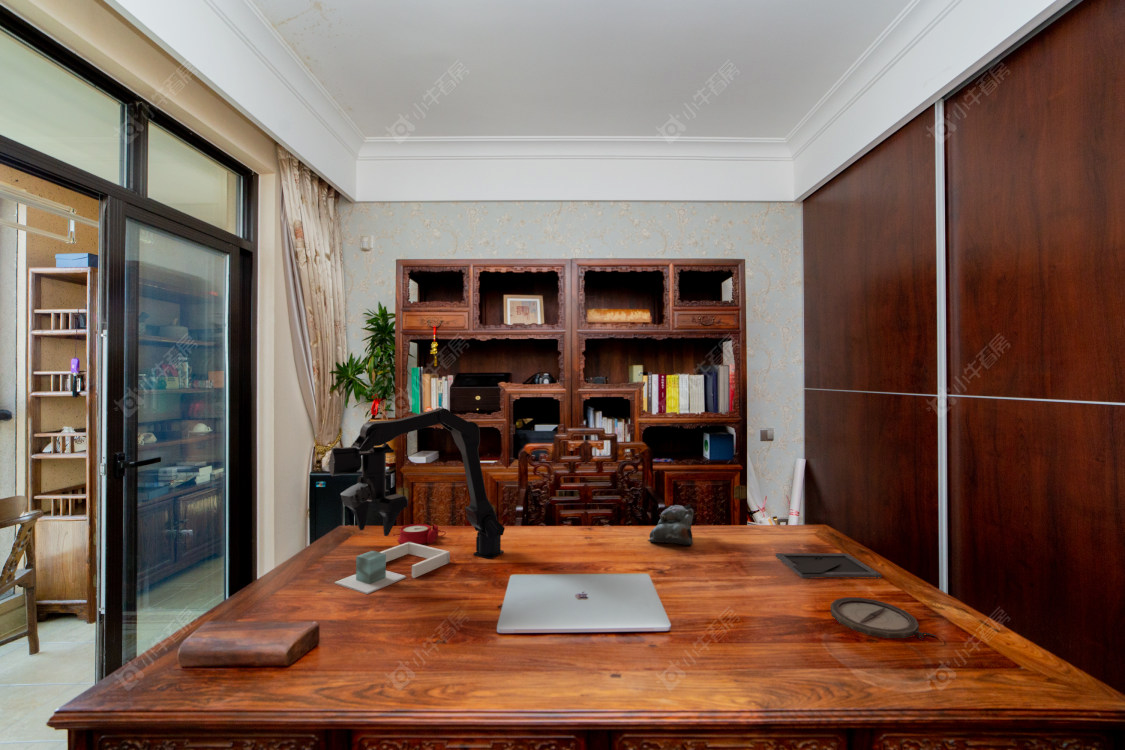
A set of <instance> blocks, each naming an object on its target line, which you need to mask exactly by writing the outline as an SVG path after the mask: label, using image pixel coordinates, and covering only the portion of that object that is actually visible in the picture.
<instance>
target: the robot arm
mask: <svg viewBox="0 0 1125 750" xmlns="http://www.w3.org/2000/svg"><path fill="white" fill-rule="evenodd" d="M439 424H440V425H441V426H442V427H444V428H445V430H446V429H447V430H448V431H450V433H451V436H452V437H453V441H454V443H455V445H456V447H457V448H458V449H459V452H460V454H461V458H462V463H463V468H464V472H465V479H466V481H467V483H466V484H467V488H468V492H469V498H470V502H469V505H468V506H465V507H464V509H465V512H466V521H467V522H468V521H469V524H471V526H473V527H474V530H475V531H476V539H475V540H476V541H475V542H476V543H475V544H476V545H475V550H476V551H475V552H473V556H477V557H481V558H485V559H493V558H495V557H498V556H499V555H502V554H504V553H505V551H504V550H502V549H501V547H502V546H501V545H502V544H501V543H502V541H501V538H502V537H501V536H503V535H504V532H505V530H506V529H505V526H504V525H503V524H502V523H500V522H499V521H498V517H497V514H496V512H495V508H494V507H493V506H492V504H491V502H490V500H489V499H488V496H487V492H486V486H485V480H484V476H483V471H482V465H481V462H480V456H479V446H480V444H481V443H480V442H481V435H480V434H481V431H480V427H479V425H478V424H477V423H476V422H474V421H470V420H465V419H464V418H462V417H460V416H458V415H457V414H455V413H453V412H451V411H450V410H449V409H448V408H443V407H437V408H435V409H432V410H428V411H424V412H421V413H417V414H413V415H410V416H409V415H408V416H405V417H402V418H398V419H391V420H390V419H389V420H388V419H387V420H373V421H366V422H365V423H364V424H363V425H362V426H361V428H360V430H359V435H358V436H357V438H356V439H355V440H354V442H353V443H352V444H351V446H348V447H346V446H345V447H337V446H336V447H335V446H334V447H331V452H330V454H329V459H328V471H329V473H330V476H331V477H334V476H335V477H336V476H344V475H345V476H346V475H355V474H357V472H358V471H360V469H361V475H359V476H358V477H357V482H356V484H354V485H351V486H349V487H348V488H346V489H345V490H344V491H342V492H340V502H341V503H343V506H344V507H347V508H349V509H350V510H351V511H352V513H353V515H354V518H355V521H356V524H357V527H358V530H359V531H364V530H365V527H366V523H367V518H368V513H369V509H370V508H369V507H370V503H372V504H373V503H374V504H378V507H379V509H380V510H378V513H379V514H380V515H381V516H382V526H383V527H382V528H383V536H384V537H387V536H390V533H391V531H392V528H393V526H394V524H395V523H396V520H397V519H398V517H399V515H400V513H401V512H402V511H403V510H405V508H407V507H409V498H408V497H407V496H406V495H403V494H398V493H397V494H396V493H394V494H391V495H390V490H388V489H387V488H386V487H387V480H389V479H390V474H387V463H386V462H387V458H386V457H387V454H393V453H395V450H394V449H393V448H392V447H391V446H390V445H389V442H392V441H393V440H394V439H396V438H398V437H399V436H401V435H403V434H408V433H411V432H415V431H418V430H423V429H427V428H430V427H433V426H436V425H439Z"/></svg>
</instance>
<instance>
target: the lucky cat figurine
mask: <svg viewBox="0 0 1125 750" xmlns="http://www.w3.org/2000/svg"><path fill="white" fill-rule="evenodd" d="M660 513H661V514H660V516H659V517H660V519H659V520H658V523H657V525H656V526H655V527H653V528H652V529H651V531H650V532H649V539H647V541H648V542H650V543H651V544H653V543H670V544H678V545H684V546H687V547H692V546H693V545H694V544H693V542H694V541H693V533H692V524H693V519H694V513H695V511H694V509H693V508H692V506H691V504H687V505H685V506H683V505H679V504H674V505H670V506H669V507H668V508H665V509H664V510H663V511H662V512H660Z"/></svg>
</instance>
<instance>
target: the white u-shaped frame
mask: <svg viewBox="0 0 1125 750" xmlns="http://www.w3.org/2000/svg"><path fill="white" fill-rule="evenodd" d="M379 552H380V553H384V554H386V563H387V562H390V561H393V560H395V559H399V558H401V557H403V556H406V555H411V556H416V557H420V558H424V560H422V561H419V562H417V563H414V564H412V565H411V578H413V579H415V578H417V577H420V576H422V575H424V574H426V573H430V572H431V571H433V570H435V569H438V568H440V567H443V566H444V565H447V564H449V563H451V562H450V560H451V559H450V558H451V557H450V555H451V553H450V551H448V550H444V549H440V548H436V547H432V546H427V545H424V544H415V543H411V542H407V543H404V544H401V543H400V544H399V545H395V546H393V547H389V548H387V549H384V550H382V551H379Z"/></svg>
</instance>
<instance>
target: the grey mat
mask: <svg viewBox="0 0 1125 750" xmlns="http://www.w3.org/2000/svg"><path fill="white" fill-rule="evenodd" d="M406 578H407V576H406V575H404V574H400V573H396V572H393V571H389V570H387V569H386V578H384V579H381V580H379V581H377V582H374V583H372V584H367V583H363V582H360V581H357V580H356V573H355V574H352V575H349V576H347V577H344V578H342V579H340V580H337V581H335V582H334V585H338V586H341V587H344V588H347V589H350V590H352V591H355V592H359V593H362V594H365V595H369V594H371V593H373V592H375V591H378V590H381V589H383V588H385V587H387V586H390V585H392V584H395V583H397V582H399V581H402V580H403V579H404V580H405V579H406Z"/></svg>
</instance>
